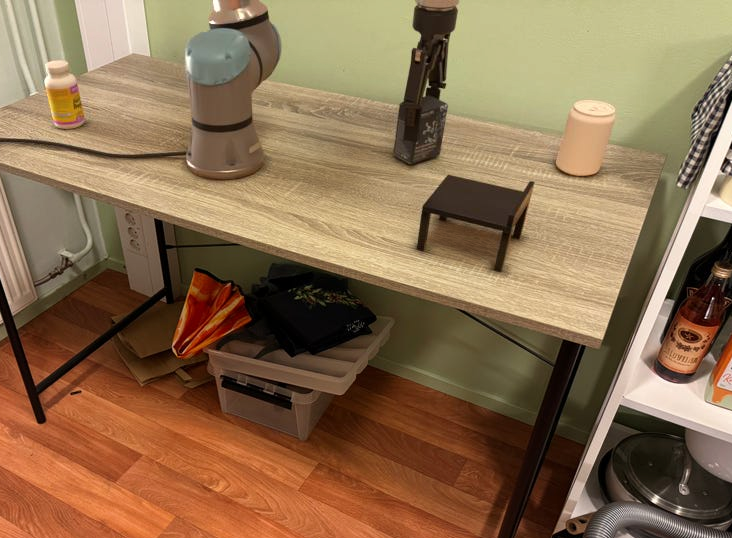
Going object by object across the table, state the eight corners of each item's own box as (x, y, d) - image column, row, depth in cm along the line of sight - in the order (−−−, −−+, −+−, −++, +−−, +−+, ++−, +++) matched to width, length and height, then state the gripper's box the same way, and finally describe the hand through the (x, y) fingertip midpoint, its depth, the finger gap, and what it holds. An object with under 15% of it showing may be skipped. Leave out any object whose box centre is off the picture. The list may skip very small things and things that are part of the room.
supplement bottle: (81, 130, 148) (68, 69, 139) (51, 130, 148) (36, 69, 140) (88, 117, 153) (76, 58, 144) (59, 118, 153) (45, 58, 145)
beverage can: (550, 159, 135) (566, 99, 127) (591, 159, 135) (609, 99, 127) (561, 178, 129) (578, 116, 121) (604, 178, 129) (624, 116, 121)
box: (411, 165, 133) (418, 112, 126) (392, 154, 136) (398, 102, 129) (441, 155, 136) (449, 103, 129) (421, 145, 139) (429, 93, 132)
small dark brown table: (416, 249, 111) (424, 193, 104) (441, 216, 119) (449, 163, 112) (500, 272, 106) (514, 215, 99) (521, 236, 114) (534, 181, 107)
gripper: (435, 25, 109) (417, 156, 124) (476, -7, 124) (456, 114, 139) (392, 18, 112) (379, 148, 127) (437, -12, 126) (421, 108, 141)
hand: (419, 130), depth 133 cm, fingers closed on box, 9 cm apart
